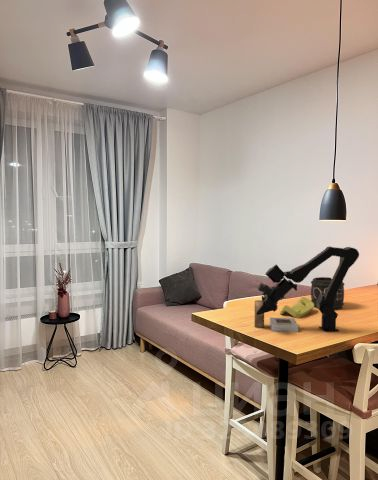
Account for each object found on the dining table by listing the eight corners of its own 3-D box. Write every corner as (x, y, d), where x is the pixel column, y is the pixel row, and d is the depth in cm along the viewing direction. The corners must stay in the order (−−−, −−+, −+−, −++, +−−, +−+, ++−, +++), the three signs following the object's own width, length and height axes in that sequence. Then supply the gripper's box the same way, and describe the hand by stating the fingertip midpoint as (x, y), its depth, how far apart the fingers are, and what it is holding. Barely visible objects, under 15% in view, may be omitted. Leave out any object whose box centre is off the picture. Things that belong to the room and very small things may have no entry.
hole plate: (294, 324, 173) (294, 317, 173) (298, 332, 162) (298, 324, 161) (269, 323, 175) (269, 317, 174) (271, 330, 163) (271, 323, 163)
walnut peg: (265, 327, 168) (265, 302, 167) (256, 328, 167) (256, 302, 166) (261, 325, 172) (261, 300, 171) (253, 325, 171) (253, 300, 170)
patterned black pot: (323, 311, 196) (324, 283, 195) (304, 304, 213) (304, 277, 213) (351, 309, 201) (352, 281, 200) (330, 302, 218) (331, 276, 217)
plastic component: (300, 314, 182) (283, 303, 187) (294, 326, 185) (278, 314, 190) (317, 305, 196) (301, 294, 202) (311, 315, 199) (296, 305, 205)
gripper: (266, 274, 177) (243, 296, 179) (270, 280, 158) (244, 305, 160) (283, 290, 176) (260, 312, 178) (288, 299, 158) (262, 323, 160)
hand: (256, 312), depth 169 cm, fingers open, 5 cm apart
